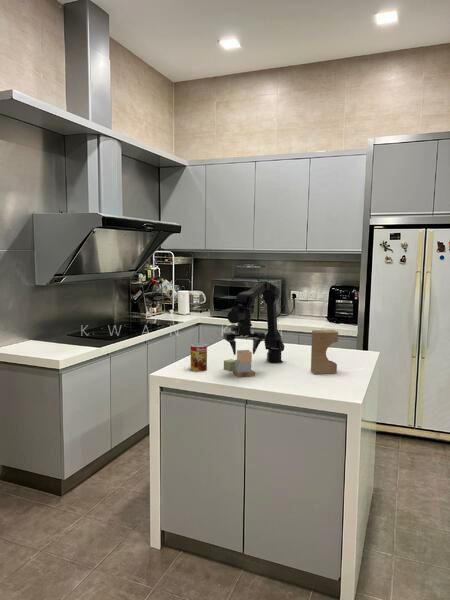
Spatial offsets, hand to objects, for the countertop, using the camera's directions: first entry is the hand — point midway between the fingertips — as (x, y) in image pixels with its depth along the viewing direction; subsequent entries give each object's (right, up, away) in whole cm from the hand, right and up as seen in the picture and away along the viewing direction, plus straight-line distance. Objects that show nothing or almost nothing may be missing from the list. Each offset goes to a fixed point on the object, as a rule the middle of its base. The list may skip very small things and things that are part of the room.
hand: (244, 354), depth 204 cm
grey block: (-1, -8, +1) cm, 8 cm away
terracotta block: (0, -3, 0) cm, 3 cm away
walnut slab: (0, -10, +1) cm, 10 cm away
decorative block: (+38, -10, +6) cm, 40 cm away
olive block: (-6, -9, +10) cm, 14 cm away
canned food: (-21, -9, +9) cm, 25 cm away
